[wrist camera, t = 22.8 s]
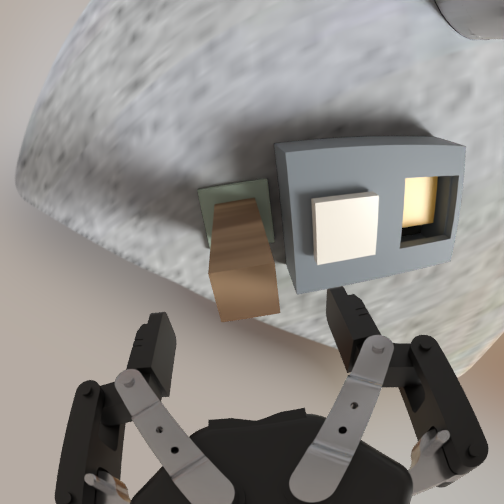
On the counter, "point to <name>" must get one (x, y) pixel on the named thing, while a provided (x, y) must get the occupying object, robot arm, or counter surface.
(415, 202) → the plunger
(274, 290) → the tall wooden block
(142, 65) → the counter surface
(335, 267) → the switch panel
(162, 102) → the counter surface
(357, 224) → the on button
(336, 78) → the counter surface
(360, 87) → the counter surface
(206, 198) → the rubber mat
